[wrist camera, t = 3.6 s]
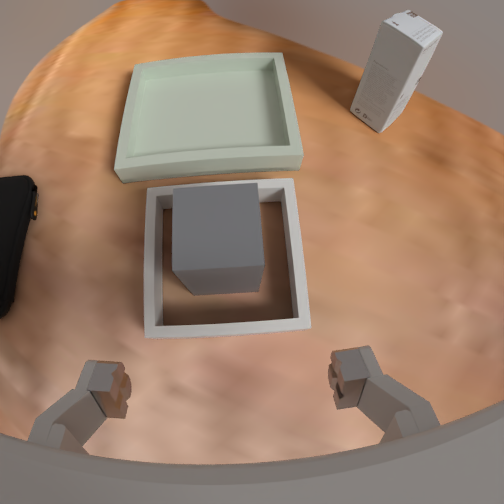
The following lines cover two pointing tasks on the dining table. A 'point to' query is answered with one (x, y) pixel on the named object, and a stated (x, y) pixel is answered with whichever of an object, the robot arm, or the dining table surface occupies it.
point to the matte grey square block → (217, 238)
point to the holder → (155, 330)
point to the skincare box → (394, 68)
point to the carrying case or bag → (14, 231)
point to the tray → (208, 118)
